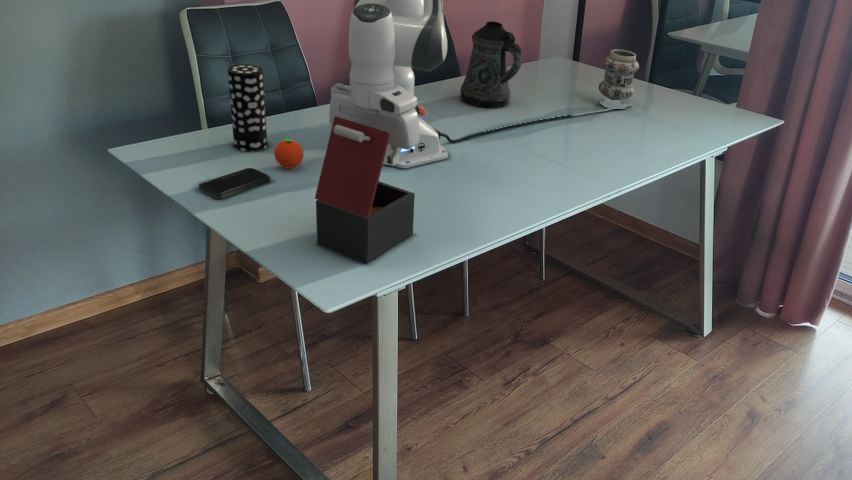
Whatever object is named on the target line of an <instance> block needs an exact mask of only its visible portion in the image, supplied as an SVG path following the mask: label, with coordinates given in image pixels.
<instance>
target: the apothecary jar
mask: <svg viewBox="0 0 852 480" xmlns="http://www.w3.org/2000/svg"><path fill="white" fill-rule="evenodd" d="M602 64H603V66H604V68H605V73H604V77H603V80H602V81H601V82H600V83H599V84H598V91H599V93H600V94H601V95H602V96H604V97H606V98H607V99H608V98H609V99H611V100H620V101H623V100H627V99H630V98H632V96H634V94H635V89H634V87H633V81H634V76H635V73H637V72H638V70H639V69H640V64H639V62H638V61H637V54H636V53H635V52H632V51H629V50H625V49H619V48H617V49H612V50H610V53H609V55H608V56H606V57H605V59H604V60H603V63H602Z"/></svg>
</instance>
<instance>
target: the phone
mask: <svg viewBox="0 0 852 480" xmlns="http://www.w3.org/2000/svg"><path fill="white" fill-rule="evenodd" d="M268 183H271V176H270V175H269V174H266V173H264V172H262V171H260V170H258V169H256V168H253V167H246V168H243V169H240V170H237V171H234V172H230V173H228V174H225V175H224V174H223V175H221V176H218V177H215V178H212V179H208V180H206V181H202V182H200V183H198V189H199V191H201V192H203V193H204V194H207V195H208V196H211V197H213V198H215V199H219V200H221V199H225V198H229V197H231V196H234V195H237V194H239V193H242V192H245V191H249V190H251V189H254V188H257V187H261V186H263V185H266V184H268Z"/></svg>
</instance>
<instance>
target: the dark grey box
mask: <svg viewBox="0 0 852 480" xmlns="http://www.w3.org/2000/svg"><path fill="white" fill-rule="evenodd" d="M415 194H416V193H415V192H412V191H409V190H406V189H403V188H400V187H397V186H394V185H391V184H388V183H385V182H382V181H380V180H379V181H378V185H377V189H376V193H375V197H374V201H373V204H372V207H383V208H382V209H380V210H378V211H376V212H374V213H373V214H371V215H370V216H369V218H367V217H364V216H361V215H358V214H356V213H353V212H350V211H347V210H345V209H342V208H339V207H336V206H334V205H331V204H328V203H325V202H323V201H320V200H317V199H316V200H315V215H316V216H315V218H316V219H315V220H316V245H318V246H320V247H323V248H325V249H328V250H331V251H333V252H336V253H338V254H341V255H343V256H346V257H349V258H350V259H353V260H355V261H359V262H361V263H364V264H367V265H368V264H370V263H372V262H373V261H375V260H376V259H378V258H379V257H381V256H383V255H384V254H385V253H388V252H389V251H391V250H392V249H393V248H395V247H396V246H398V245H399V244H401V243H403V242H405V241H406V240H407V239H409V238H411V237H412V236H413V235H414V216H415Z"/></svg>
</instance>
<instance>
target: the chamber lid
mask: <svg viewBox="0 0 852 480" xmlns="http://www.w3.org/2000/svg"><path fill="white" fill-rule="evenodd" d="M390 135H391V133H388V132H385V131H382V130H379V129H375V128H372V127H369V126H366V125H362V124H359V123H356V122H353V121H350V120H346V119H343V118H340V117H336V116H335V117H334V121H333V125H331V129H330V133H329V138H328V142H327V146H326V150H325V153H324V159H323V163H322V167H321V171H320V175H319V179H318V183H317V187H316V191H315V196H314V199H315V200H316V201H317V200H320V201H323V202H325V203H328V204H331V205H334V206H336V207H339V208H342V209H345V210H347V211H350V212H353V213H356V214H358V215H361V216H364V217H367V218H369V216H370V212H371V208H372V204H373V201H374V197H375V193H376V189H377V185H378V181H380V176H381V173H382V169H383V162H384V158H385V154H386V150H387V146H388V142H389V138H390Z"/></svg>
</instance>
